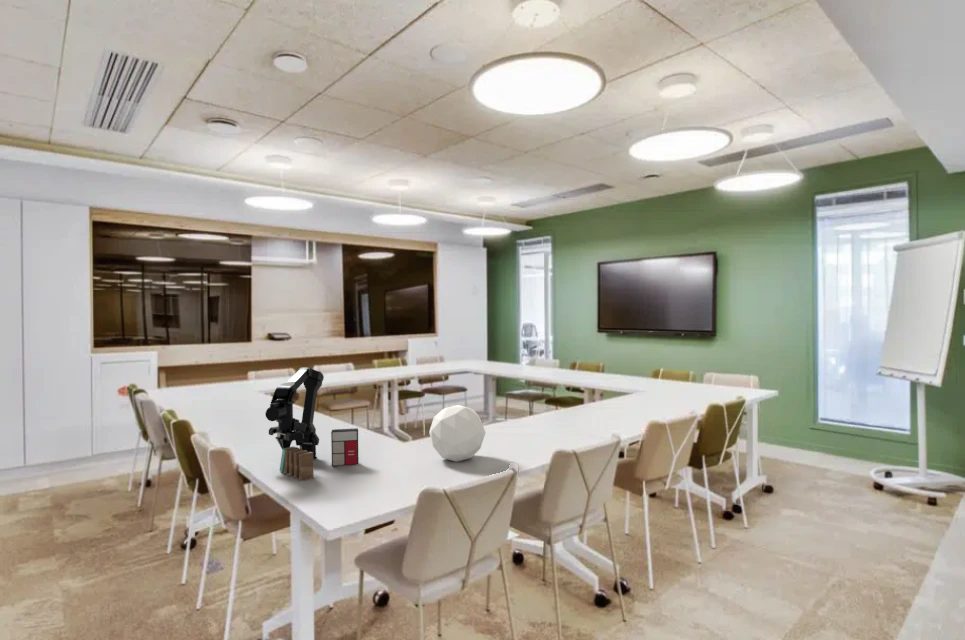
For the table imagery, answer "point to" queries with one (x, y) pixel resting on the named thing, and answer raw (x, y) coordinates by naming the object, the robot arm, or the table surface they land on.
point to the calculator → (344, 447)
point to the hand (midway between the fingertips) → (286, 453)
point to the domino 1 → (283, 459)
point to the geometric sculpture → (457, 433)
